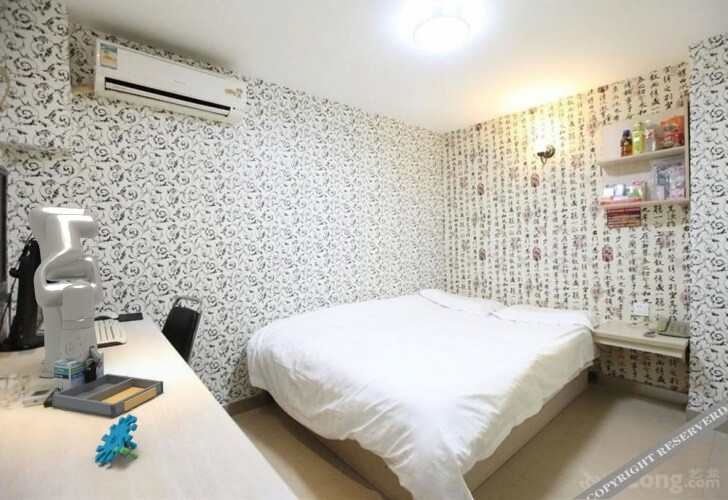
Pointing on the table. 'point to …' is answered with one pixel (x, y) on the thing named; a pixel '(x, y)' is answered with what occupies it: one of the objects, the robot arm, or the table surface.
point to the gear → (118, 440)
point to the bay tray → (107, 395)
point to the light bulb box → (72, 373)
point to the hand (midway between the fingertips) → (80, 380)
